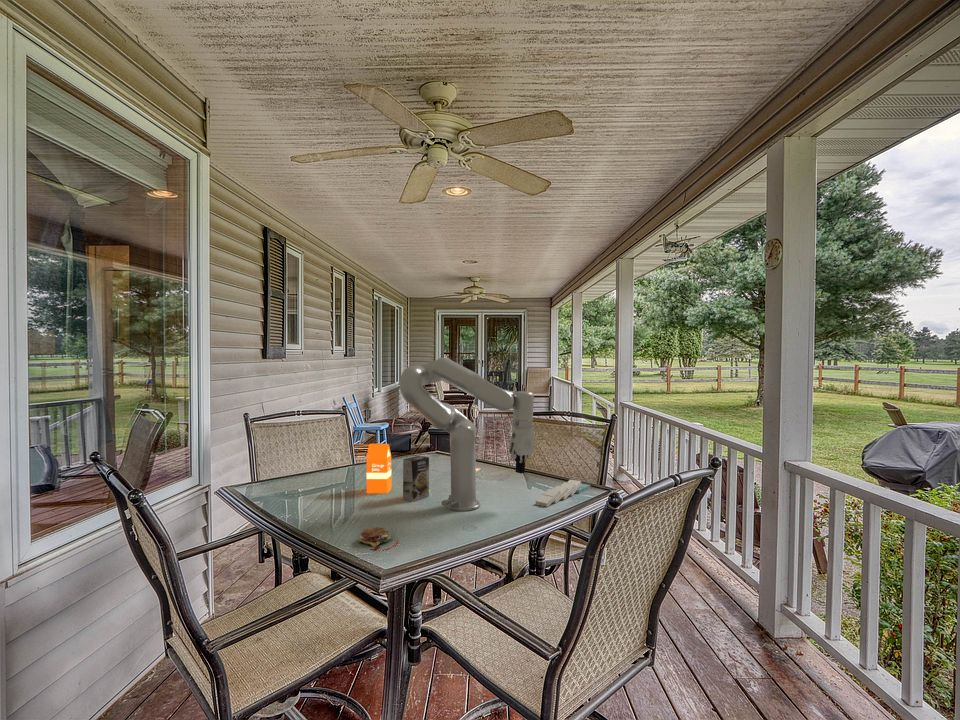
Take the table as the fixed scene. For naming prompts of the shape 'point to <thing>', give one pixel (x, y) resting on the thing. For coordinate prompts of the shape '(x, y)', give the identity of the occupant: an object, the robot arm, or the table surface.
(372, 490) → the orange juice
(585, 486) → the domino
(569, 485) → the domino
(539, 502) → the domino
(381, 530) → the hamburger
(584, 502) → the table surface
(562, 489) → the domino
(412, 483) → the coffee box
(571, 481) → the domino
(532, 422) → the robot arm
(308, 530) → the table surface
